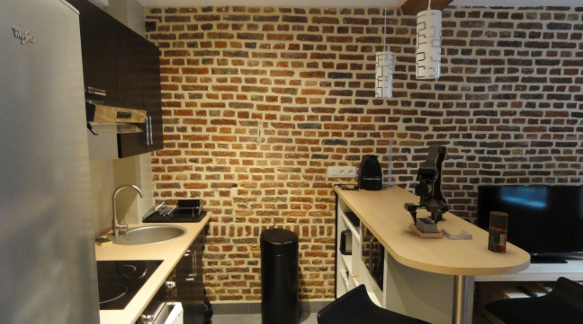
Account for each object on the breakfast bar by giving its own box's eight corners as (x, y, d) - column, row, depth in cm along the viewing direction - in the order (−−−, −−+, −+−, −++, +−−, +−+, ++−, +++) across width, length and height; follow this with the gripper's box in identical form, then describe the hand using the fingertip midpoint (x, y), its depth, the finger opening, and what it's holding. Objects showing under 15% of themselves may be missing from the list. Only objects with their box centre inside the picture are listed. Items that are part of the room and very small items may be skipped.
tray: (409, 227, 144) (409, 223, 144) (428, 227, 144) (428, 223, 144) (421, 238, 129) (421, 233, 129) (442, 238, 129) (443, 233, 129)
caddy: (415, 227, 142) (415, 217, 141) (426, 227, 142) (426, 217, 141) (424, 235, 131) (424, 224, 130) (436, 235, 131) (437, 224, 130)
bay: (441, 232, 136) (441, 228, 135) (462, 233, 135) (462, 229, 135) (449, 239, 128) (450, 234, 128) (472, 239, 127) (472, 234, 127)
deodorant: (498, 253, 112) (500, 216, 111) (484, 248, 118) (486, 212, 116) (509, 252, 114) (512, 214, 112) (495, 246, 119) (497, 210, 118)
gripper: (412, 196, 127) (411, 230, 129) (456, 196, 126) (454, 231, 128) (404, 191, 138) (403, 222, 140) (444, 191, 137) (442, 223, 139)
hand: (425, 225), depth 136 cm, fingers open, 9 cm apart
